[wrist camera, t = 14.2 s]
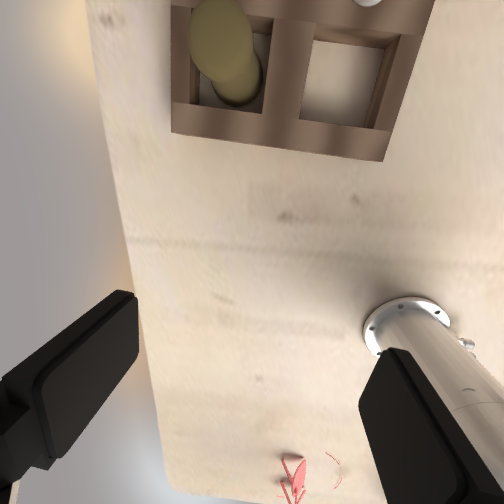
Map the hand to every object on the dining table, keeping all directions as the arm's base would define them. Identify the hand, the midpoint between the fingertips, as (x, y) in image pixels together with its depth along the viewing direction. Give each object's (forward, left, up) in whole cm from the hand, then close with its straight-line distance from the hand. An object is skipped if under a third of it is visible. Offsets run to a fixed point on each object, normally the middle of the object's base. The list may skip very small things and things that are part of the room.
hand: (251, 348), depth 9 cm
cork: (+6, -14, -26) cm, 30 cm away
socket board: (0, -17, -26) cm, 31 cm away
